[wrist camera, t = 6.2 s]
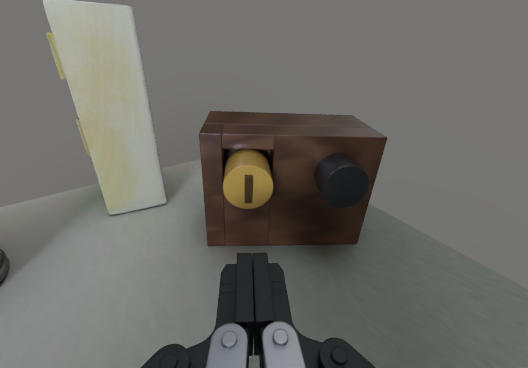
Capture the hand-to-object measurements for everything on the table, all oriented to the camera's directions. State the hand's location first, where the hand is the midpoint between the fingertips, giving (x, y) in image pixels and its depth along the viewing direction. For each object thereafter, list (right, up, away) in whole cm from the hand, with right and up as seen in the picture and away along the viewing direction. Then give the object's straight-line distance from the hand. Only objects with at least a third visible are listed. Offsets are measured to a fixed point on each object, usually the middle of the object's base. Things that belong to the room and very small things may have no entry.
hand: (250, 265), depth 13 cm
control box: (+3, -1, +16) cm, 17 cm away
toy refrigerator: (-17, +2, +21) cm, 27 cm away
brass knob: (-1, +3, +10) cm, 10 cm away
